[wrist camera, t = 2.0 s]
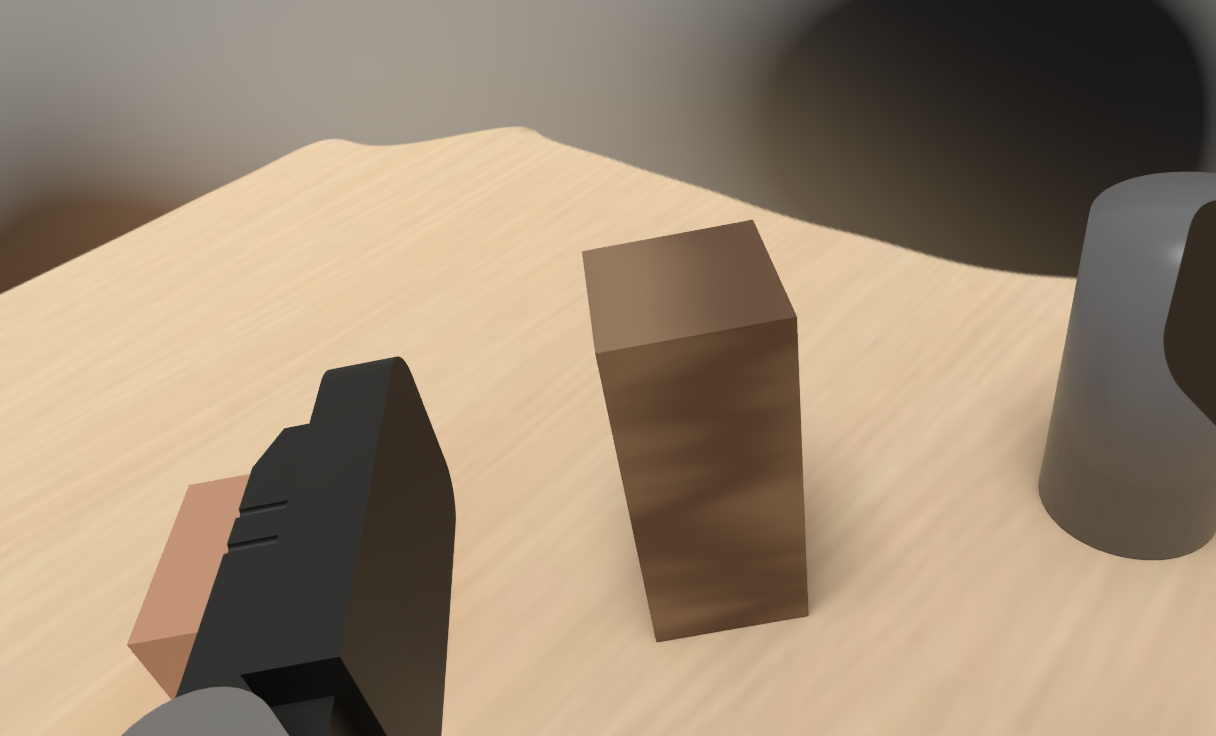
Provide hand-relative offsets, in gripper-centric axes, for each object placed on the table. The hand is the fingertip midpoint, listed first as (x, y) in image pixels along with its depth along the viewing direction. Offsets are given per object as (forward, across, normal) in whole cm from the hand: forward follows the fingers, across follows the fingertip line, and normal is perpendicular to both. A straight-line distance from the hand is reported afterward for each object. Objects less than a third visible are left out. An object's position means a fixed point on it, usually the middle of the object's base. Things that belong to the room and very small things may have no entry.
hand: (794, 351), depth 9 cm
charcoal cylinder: (+12, -13, +17) cm, 24 cm away
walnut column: (+11, 0, +17) cm, 21 cm away
